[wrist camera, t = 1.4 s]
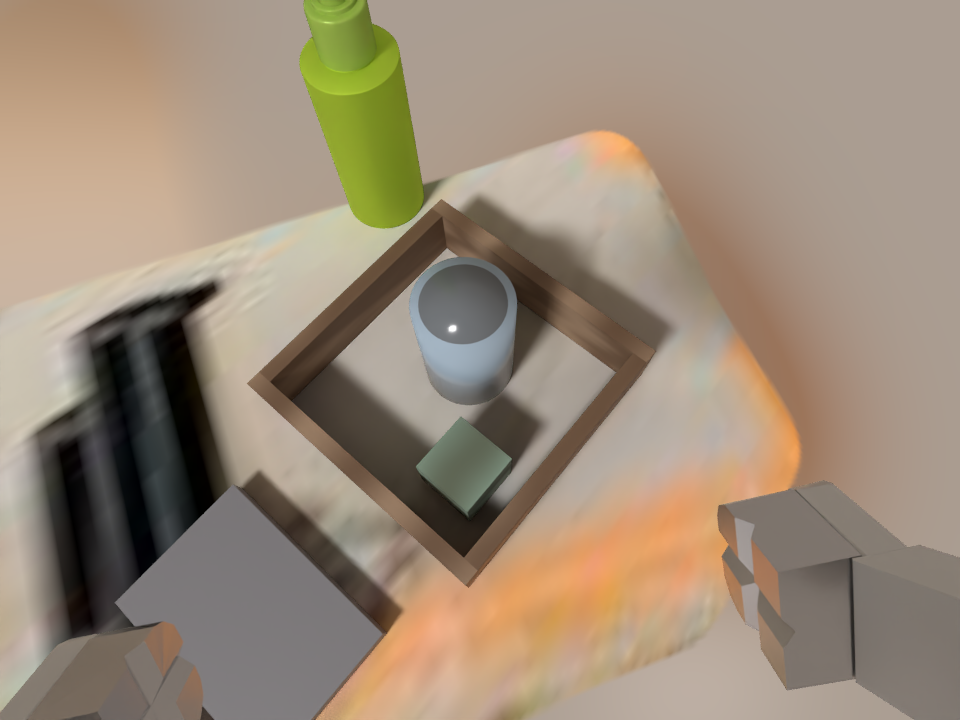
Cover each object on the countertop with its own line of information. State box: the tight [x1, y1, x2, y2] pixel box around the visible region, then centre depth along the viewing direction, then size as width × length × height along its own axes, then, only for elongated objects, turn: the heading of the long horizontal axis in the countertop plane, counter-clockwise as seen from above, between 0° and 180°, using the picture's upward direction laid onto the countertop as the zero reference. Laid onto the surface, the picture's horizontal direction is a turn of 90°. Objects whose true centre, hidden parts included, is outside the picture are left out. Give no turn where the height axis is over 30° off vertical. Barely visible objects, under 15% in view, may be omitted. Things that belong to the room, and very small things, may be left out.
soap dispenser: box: [300, 0, 424, 228], centre depth 38 cm, size 6×7×20 cm
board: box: [115, 485, 387, 720], centre depth 35 cm, size 13×9×2 cm
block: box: [416, 417, 512, 521], centre depth 37 cm, size 4×4×4 cm
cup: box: [409, 257, 517, 405], centre depth 38 cm, size 6×6×9 cm
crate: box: [247, 199, 656, 588], centre depth 39 cm, size 18×18×4 cm
